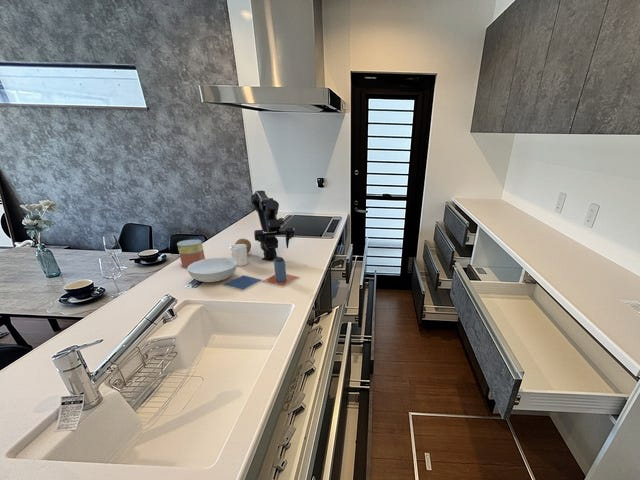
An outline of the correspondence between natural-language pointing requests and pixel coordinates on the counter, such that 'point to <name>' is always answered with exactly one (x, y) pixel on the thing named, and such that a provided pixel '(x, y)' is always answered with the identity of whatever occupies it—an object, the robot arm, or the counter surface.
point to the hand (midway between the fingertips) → (278, 249)
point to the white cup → (239, 254)
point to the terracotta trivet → (273, 281)
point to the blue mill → (280, 269)
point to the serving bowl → (212, 269)
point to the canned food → (190, 251)
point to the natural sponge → (246, 242)
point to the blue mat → (242, 282)
